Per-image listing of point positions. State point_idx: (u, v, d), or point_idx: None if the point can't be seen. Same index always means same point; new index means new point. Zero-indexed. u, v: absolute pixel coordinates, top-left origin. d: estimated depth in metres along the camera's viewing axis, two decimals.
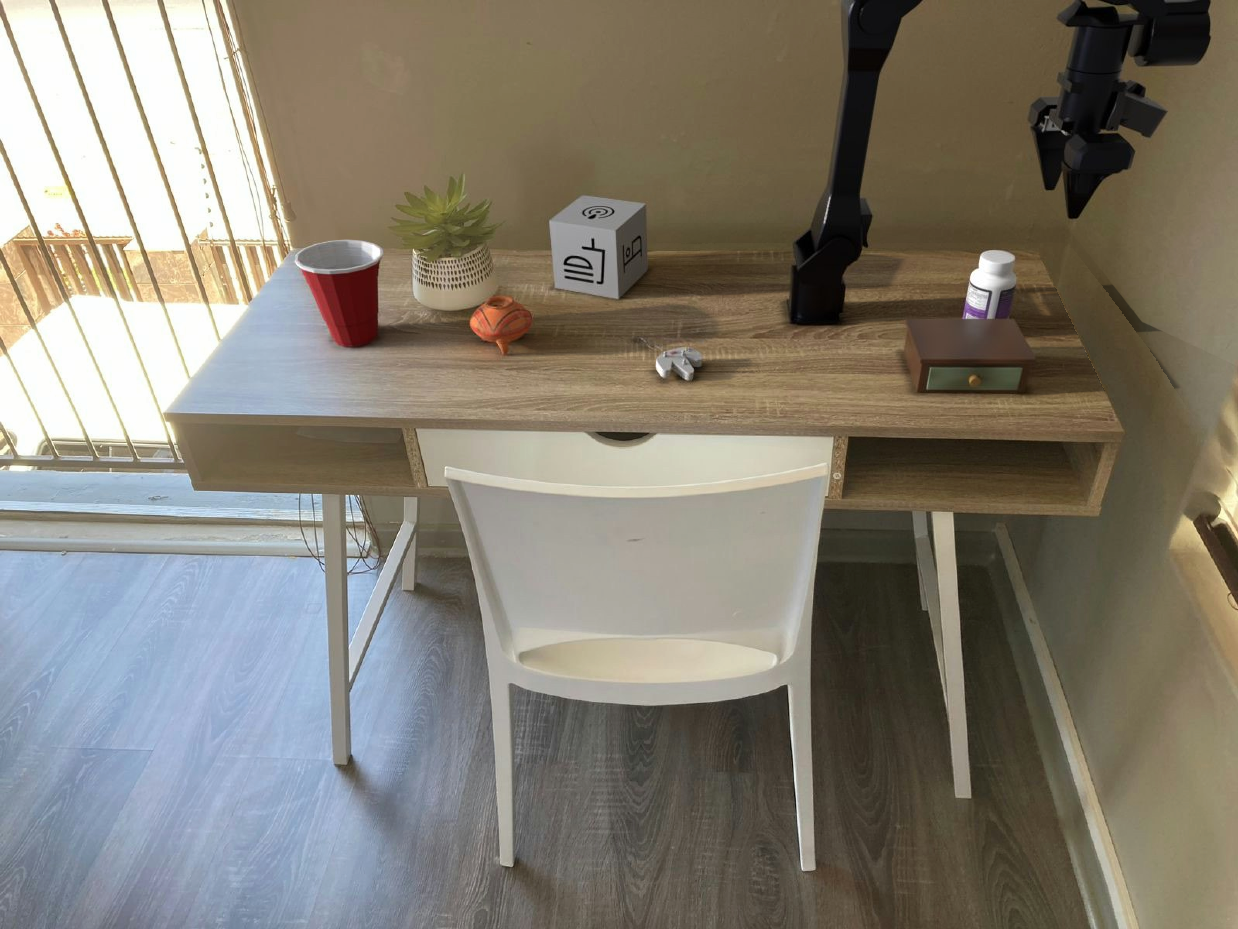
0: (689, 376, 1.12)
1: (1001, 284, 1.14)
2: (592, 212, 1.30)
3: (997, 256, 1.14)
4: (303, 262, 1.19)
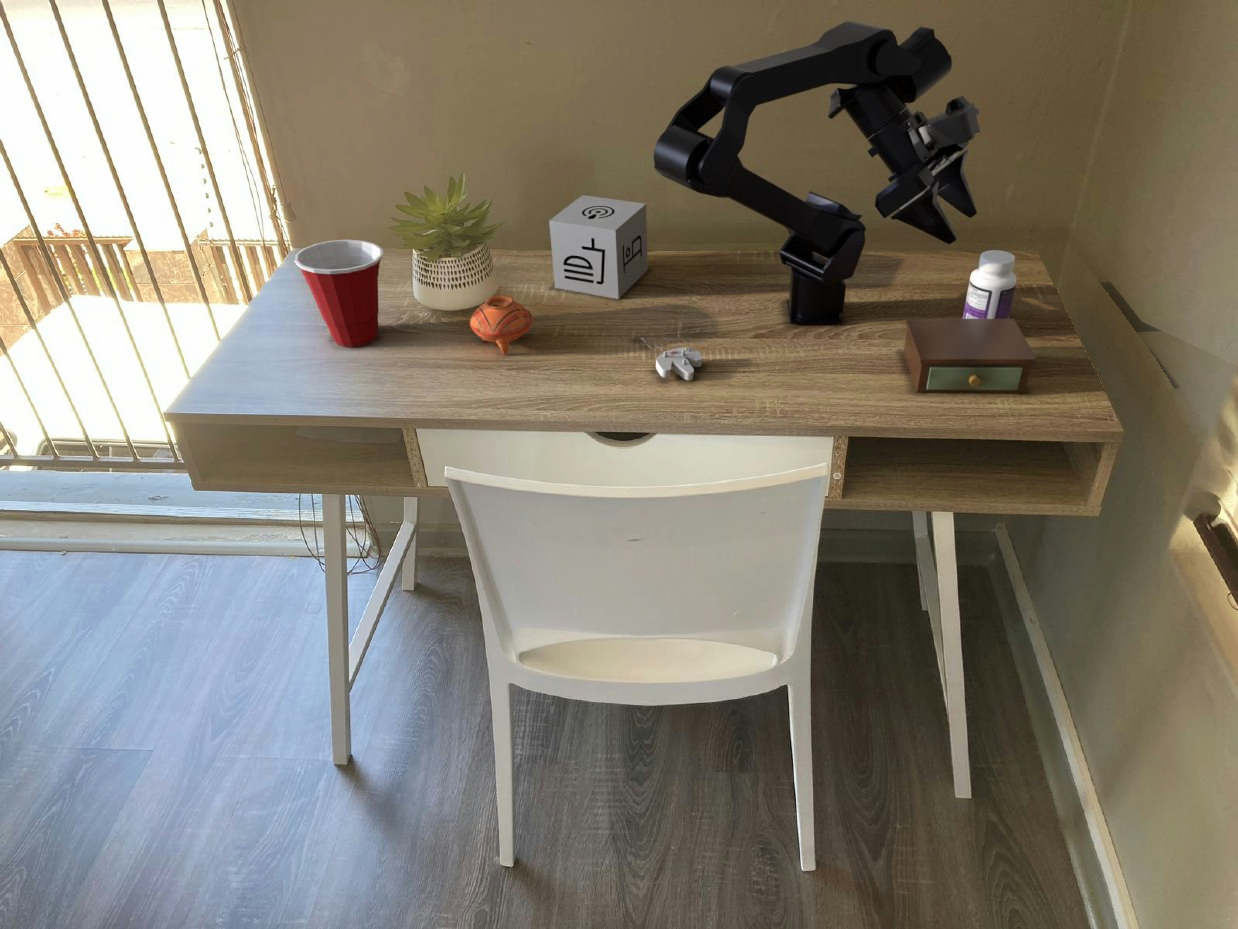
0: (689, 376, 1.12)
1: (1001, 284, 1.14)
2: (592, 212, 1.30)
3: (997, 256, 1.14)
4: (303, 262, 1.19)
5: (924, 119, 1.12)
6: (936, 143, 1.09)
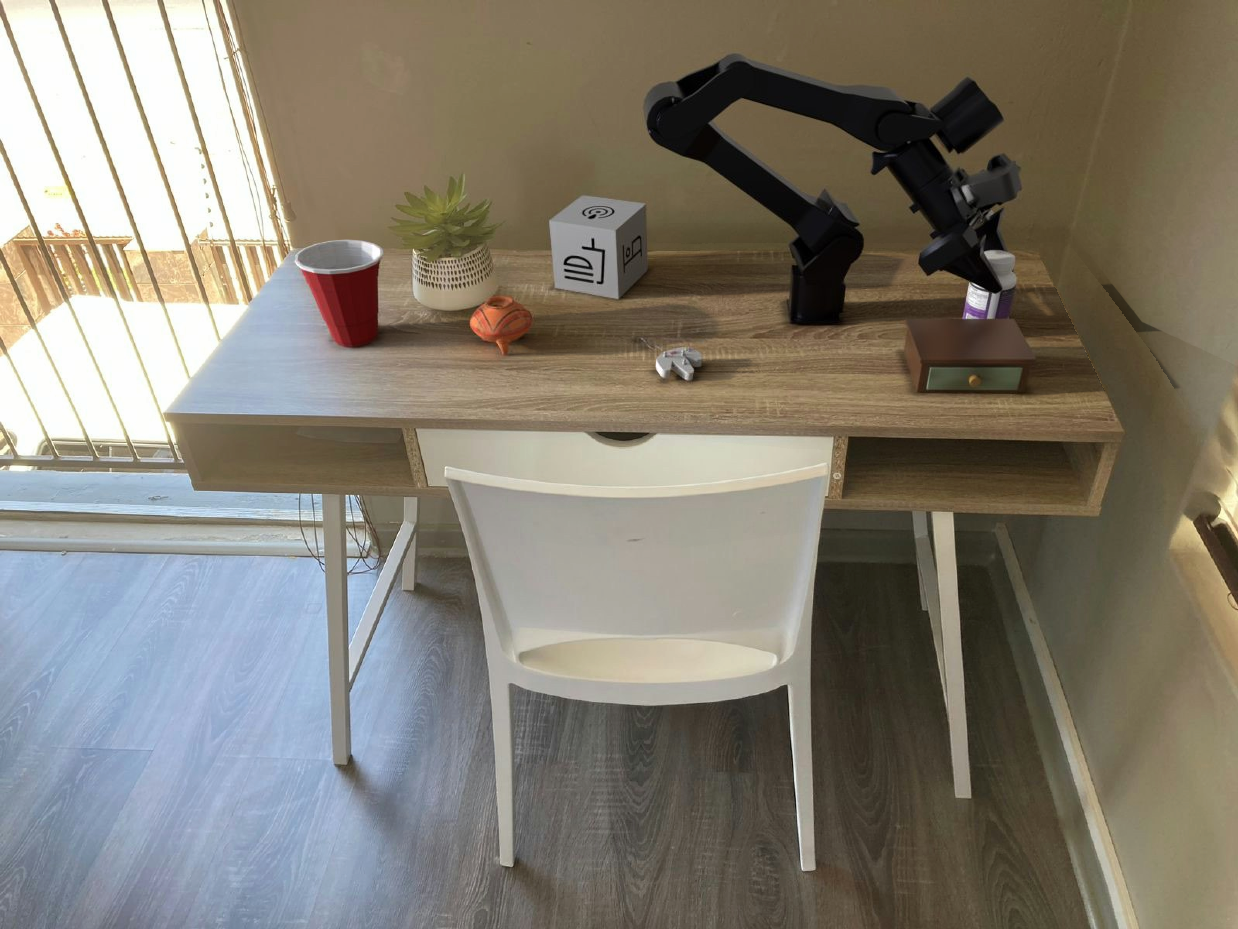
0: (689, 376, 1.12)
1: (1002, 284, 1.14)
2: (592, 212, 1.30)
3: (997, 256, 1.14)
4: (303, 262, 1.19)
5: (965, 176, 1.13)
6: (979, 201, 1.10)
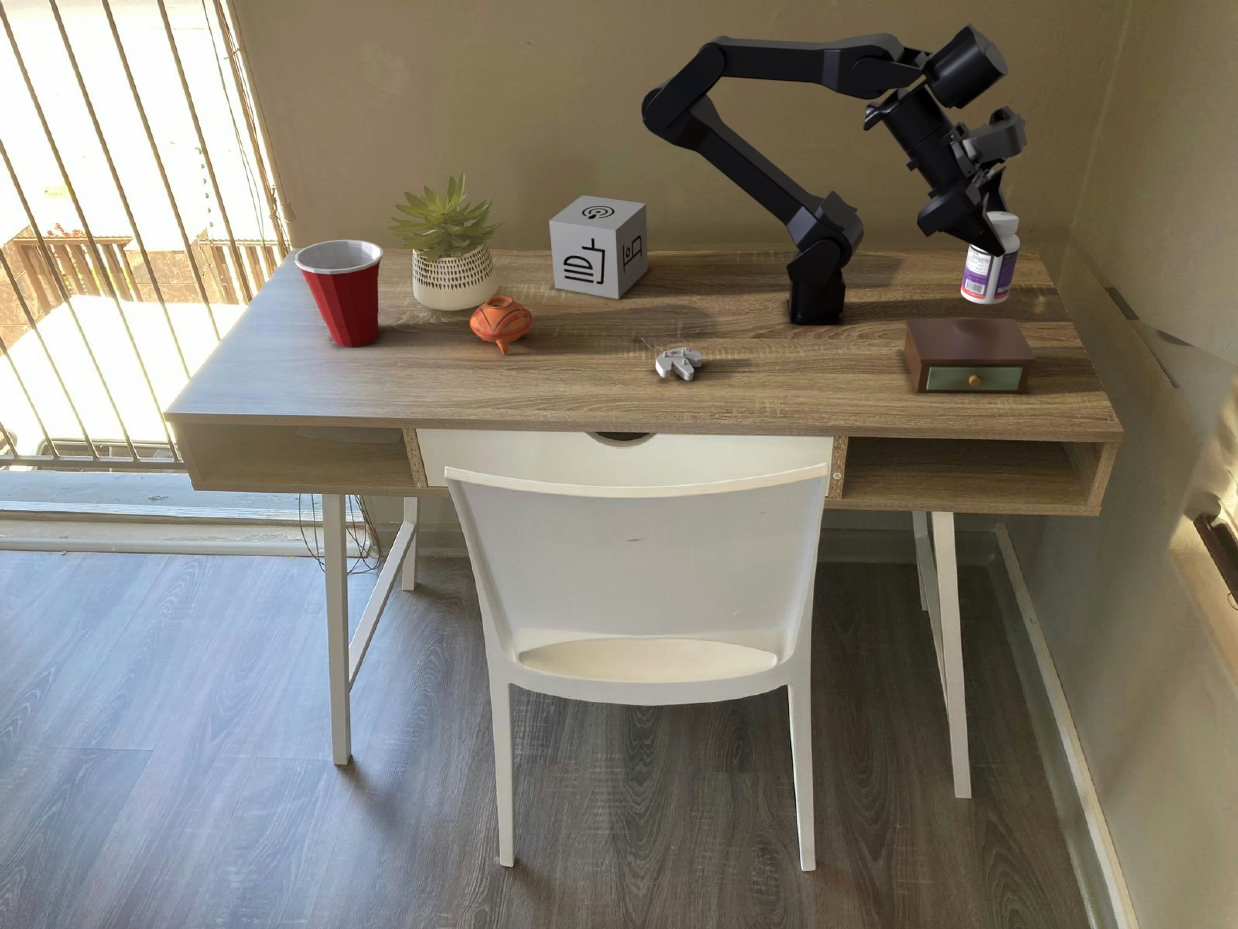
0: (689, 376, 1.12)
1: (1004, 247, 1.06)
2: (592, 212, 1.30)
3: (1000, 217, 1.07)
4: (303, 262, 1.19)
5: (966, 130, 1.05)
6: (981, 157, 1.02)
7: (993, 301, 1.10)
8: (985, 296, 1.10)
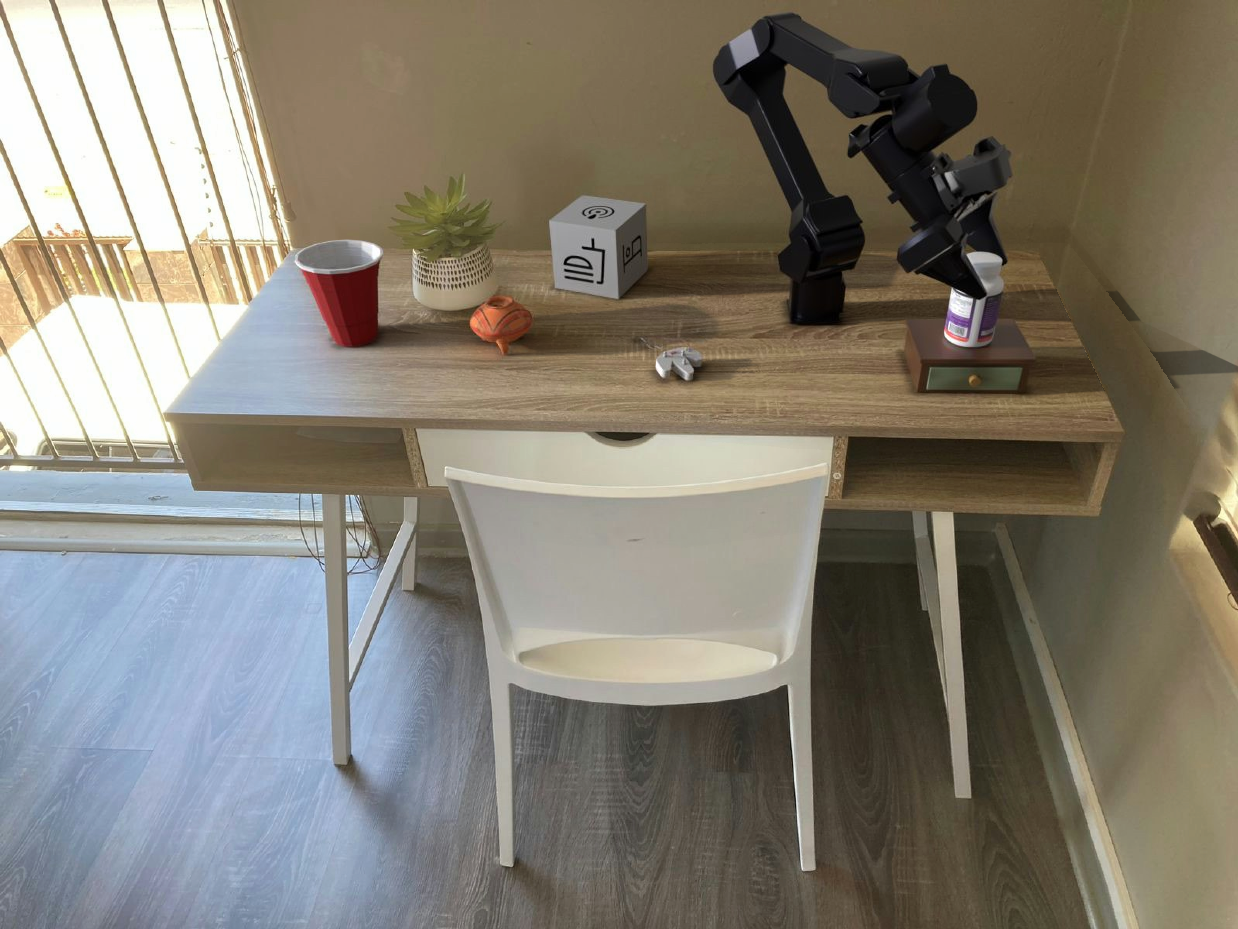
0: (689, 376, 1.12)
1: (987, 290, 1.03)
2: (592, 212, 1.30)
3: (982, 259, 1.03)
4: (303, 262, 1.19)
5: (950, 162, 1.01)
6: (964, 190, 0.98)
7: (977, 344, 1.06)
8: (968, 339, 1.06)
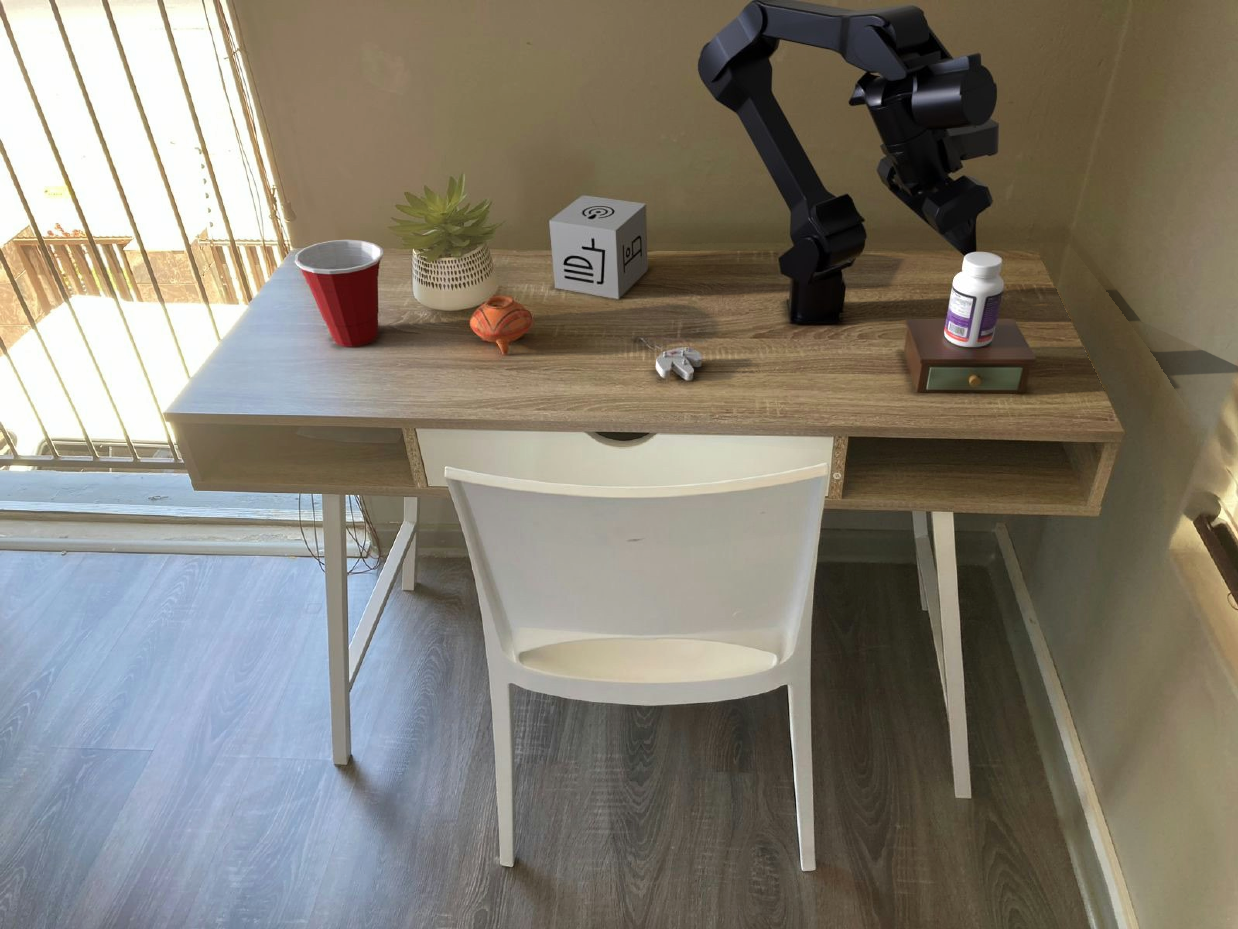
0: (689, 376, 1.12)
1: (987, 290, 1.03)
2: (592, 212, 1.30)
3: (982, 259, 1.03)
4: (303, 262, 1.19)
5: None
6: (968, 154, 1.03)
7: (977, 344, 1.06)
8: (968, 339, 1.06)
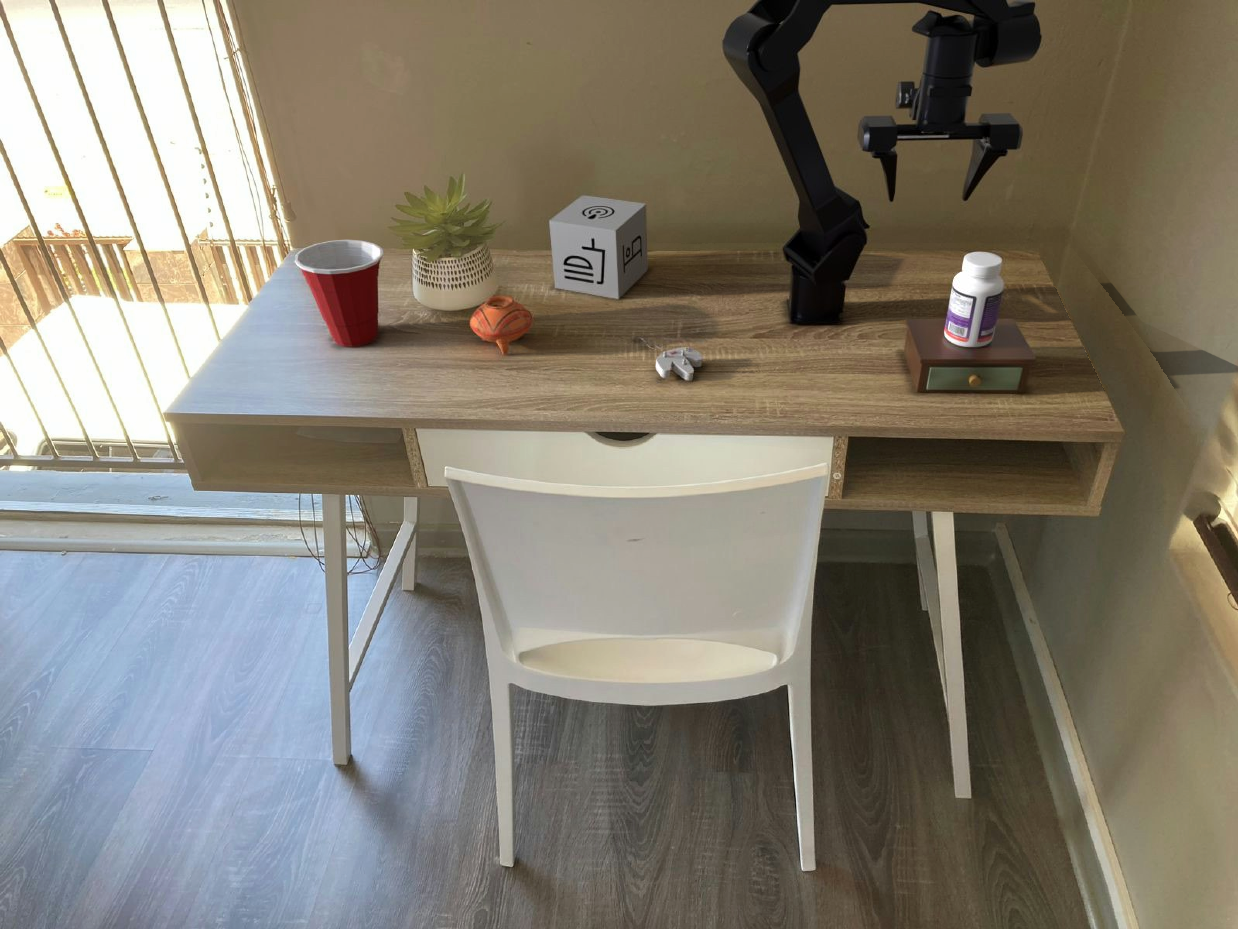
0: (689, 376, 1.12)
1: (987, 290, 1.03)
2: (592, 212, 1.30)
3: (982, 259, 1.03)
4: (303, 262, 1.19)
5: None
6: None
7: (977, 344, 1.06)
8: (968, 339, 1.06)
